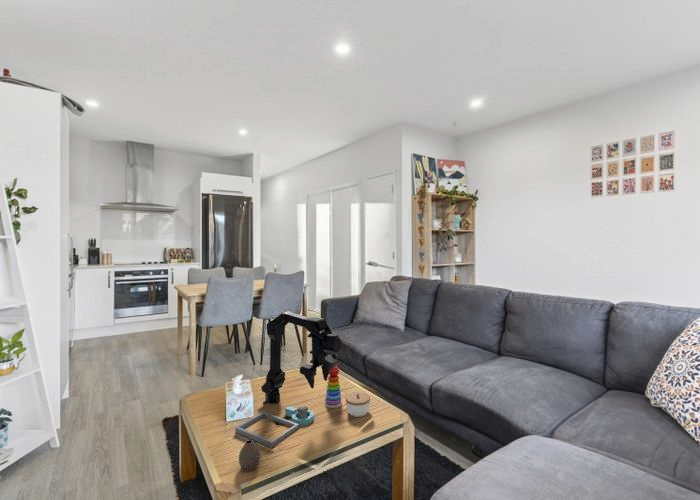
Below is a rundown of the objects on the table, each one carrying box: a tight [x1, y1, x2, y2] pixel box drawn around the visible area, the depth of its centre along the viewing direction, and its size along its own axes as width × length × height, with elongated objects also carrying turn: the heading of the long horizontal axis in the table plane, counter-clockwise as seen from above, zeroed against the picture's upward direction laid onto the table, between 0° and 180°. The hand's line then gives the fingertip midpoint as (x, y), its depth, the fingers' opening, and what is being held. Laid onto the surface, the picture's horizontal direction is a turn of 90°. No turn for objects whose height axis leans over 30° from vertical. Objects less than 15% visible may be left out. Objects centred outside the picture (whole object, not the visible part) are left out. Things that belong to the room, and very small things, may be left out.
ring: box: [284, 405, 315, 425], centre depth 146 cm, size 14×9×3 cm, turn 57°
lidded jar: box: [345, 391, 371, 418], centre depth 150 cm, size 11×11×9 cm
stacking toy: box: [324, 365, 343, 409], centre depth 158 cm, size 8×8×19 cm
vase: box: [238, 439, 261, 472], centre depth 116 cm, size 7×7×9 cm
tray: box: [234, 411, 300, 450], centre depth 137 cm, size 20×15×2 cm
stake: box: [288, 405, 320, 429], centre depth 145 cm, size 10×10×6 cm
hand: (319, 384), depth 147 cm, fingers open, 9 cm apart
